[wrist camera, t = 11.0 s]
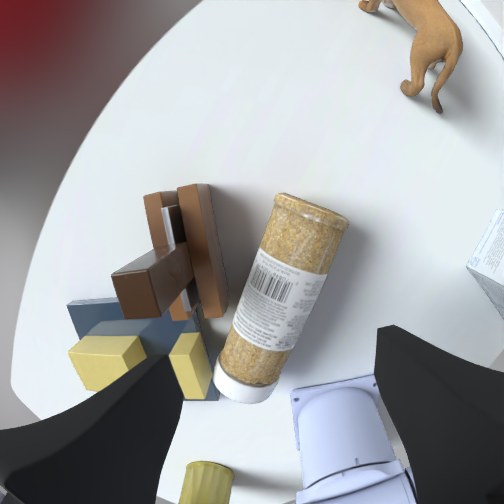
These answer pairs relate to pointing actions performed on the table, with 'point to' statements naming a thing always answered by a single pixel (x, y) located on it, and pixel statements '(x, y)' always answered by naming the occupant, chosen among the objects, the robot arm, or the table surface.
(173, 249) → the knife
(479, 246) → the light bulb box
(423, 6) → the lion figurine
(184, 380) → the butter slice
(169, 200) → the brown slab pair
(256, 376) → the sprinkles bottle
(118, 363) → the butter block
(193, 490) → the vase
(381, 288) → the table surface
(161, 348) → the dark square plate
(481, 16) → the computer
